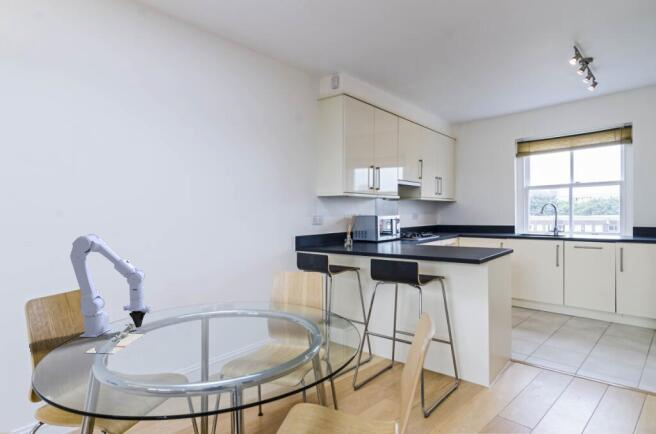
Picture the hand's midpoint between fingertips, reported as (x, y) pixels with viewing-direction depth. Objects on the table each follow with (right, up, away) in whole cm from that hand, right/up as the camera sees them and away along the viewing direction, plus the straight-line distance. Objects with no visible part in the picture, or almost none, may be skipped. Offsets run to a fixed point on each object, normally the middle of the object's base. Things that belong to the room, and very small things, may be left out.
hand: (138, 326), depth 158 cm
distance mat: (-1, -2, -13) cm, 14 cm away
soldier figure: (-2, -2, -9) cm, 9 cm away
